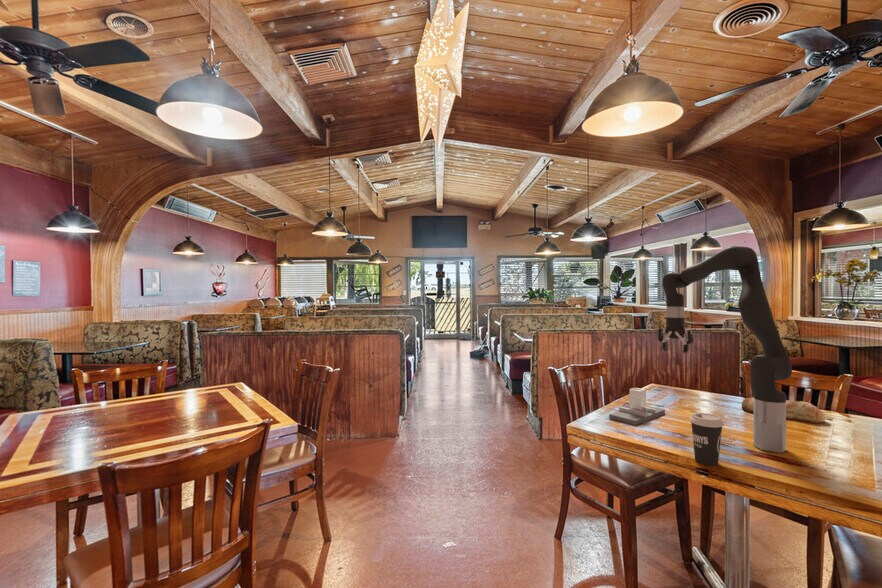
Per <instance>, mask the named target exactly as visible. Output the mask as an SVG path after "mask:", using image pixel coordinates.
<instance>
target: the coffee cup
mask: <svg viewBox="0 0 882 588" xmlns="http://www.w3.org/2000/svg"><path fill="white" fill-rule="evenodd" d="M689 422H690V423H691V429H692V430H691V431H692V442H693V443H692V444H693V452H694V460H695V462H696V463H698V464H701V465H704V466H710V467H712V466H713V467H714V466H718V465H719V461H720V460H719V459H720V450H721V442H722V441H721V439H722V432H723V427H725V426H724V425H725V424H724V421H723V420H722V417H720V416H719V415H717V414H714V413H713V414H711V413H707V412H695V413H693V414H692V416H690V419H689Z"/></svg>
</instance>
